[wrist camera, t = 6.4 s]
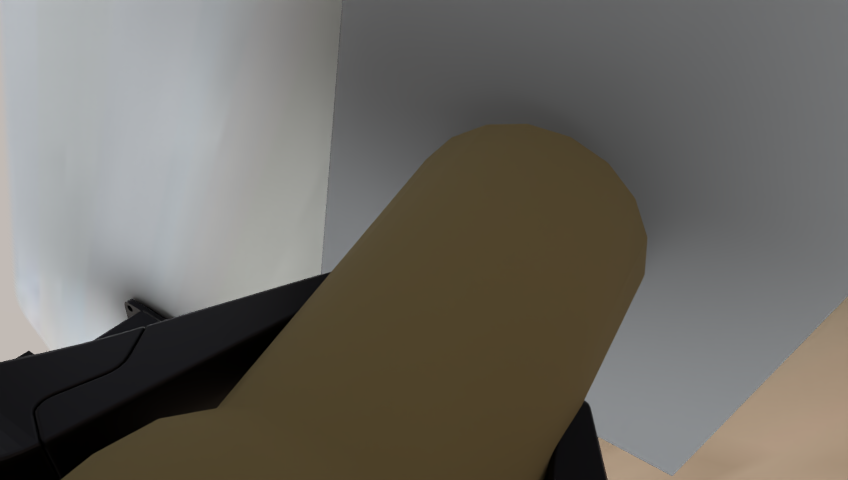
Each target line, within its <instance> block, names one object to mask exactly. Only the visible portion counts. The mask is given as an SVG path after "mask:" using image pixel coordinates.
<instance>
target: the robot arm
mask: <svg viewBox="0 0 848 480" xmlns="http://www.w3.org/2000/svg"><path fill="white" fill-rule="evenodd" d="M330 273H331V272H328V273H324V274H321V275H317V276H314V277H311V278H307V279H304V280H300V281H297V282H294V283H290V284H287V285H283V286H280V287H277V288H273V289H270V290H266V291H263V292H259V293H256V294H253V295H249V296H246V297H242V298H239V299H236V300H232V301H229V302H225V303H222V304H219V305H215V306H212V307H208V308H205V309H202V310H198V311H195V312H191V313H188V314H185V315H181V316H178V317H174V318H171V319H168V320H166V319H164V318H163V317H161V316H159V315H158V314H156V313H155V312H153V311H151V310H150V309H148V308H147V307H145V306H143V305H142V304H140V303H139V302H137V301H135V300H134V299H130V300H128V301H127V302H125V308H126V312H127V316H128V319H127V320H125V321H123V322H122V323H120V324H119V325H117V326H115V327H114V328H112V329H111V330H109V331H108V332H106V333H104V334H103V335H101V336H100V337H98V338H96V339H95V340H93V341H90V342H86V343H82V344H78V345H74V346H70V347H66V348H61V349H57V350H53V351H49V352H45V353H40V354H35V355H34V354H33V353H31V352H30V351H28V352H26V353H24V354H23V355H21V356H19V357H18V358H16V359H12V360H8V361H4V362H0V480H61V479H62V478H63V477H65V476H66V475H67V474H69V473H70V472H71V471H72V470H74V469H75V468H76V467H77V466H79V465H80V464H81V463H82V462H84V461H85V460H86V459H87V458H89V457H90V456H91V455H92V454H94V453H96V452H98V451H100V450H101V449H103V448H105V447H107V446H109V445H111V444H113V443H114V442H116V441H118V440H120V439H122V438H124V437H126V436H127V435H129V434H131V433H133V432H135V431H137V430H139V429H140V428H142V427H144V426H146V425H148V424H150V423H152V422H153V421H155V420H157V419H160V418H166V417H171V416H176V415H182V414H187V413H193V412H198V411H204V410H209V409H215V408H217V407H218V406H219V405H220V403H221V402H222V401H223V400H224V399H225V397H226V396H227V395H228V394H229V393H230V391H231V390H232V389H233V388H234V387H235V386H236V384H237V383H238V382H239V381H240V380H241V378H242V377H243V376H244V375H245V374H246V372H247V371H248V370H249V369H250V368H251V367H252V365H253V364H254V363H255V362H256V361H257V359H258V358H259V357H260V356H261V355H262V354H263V352H264V351H265V350H266V349H267V348H268V346H269V345H270V344H271V343H272V342H273V340H274V339H275V338H276V337H277V336H278V335H279V333H280V332H281V331H282V330H283V329H284V327H285V326H286V325H287V324H288V323H289V321H290V320H291V319H292V318H293V317H294V316H295V314H296V313H297V312H298V311H299V310H300V308H301V307H302V306H303V305H304V304H305V302H306V301H307V300H308V299H309V298H310V297H311V295H312V294H313V293H314V292H315V291H316V289H317V288H318V287H319V286H320V285H321V284H322V282H323V281H324V280H325V279H326V278H327V276H328V275H329V274H330ZM544 480H608V479H607V475H606V471H605V467H604V462H603V458H602V454H601V449H600V445H599V441H598V437H597V432H596V428H595V424H594V419H593V415H592V411H591V407H590V405H589V403H588V402H586V401H584V402H583V404H582V406H581V408H580V409H579V411H578V412H577V414H576V415H575V417H574V419H573V420H572V422H571V423H570V425H569V426H568V428H567V430H566V431H565V433H564V434H563V436H562V437H561V439H560V441H559V442H558V444H557V446H556V447H555V449H554V451H553V453H552V456H551V458H550V461H549V464H548V468H547V471H546V475H545V478H544Z"/></svg>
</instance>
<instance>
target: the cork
mask: <svg viewBox="0 0 848 480" xmlns="http://www.w3.org/2000/svg"><path fill="white" fill-rule="evenodd" d="M647 239H648V238H647V234H646V231H645V228H644V225H643V222H642V218H641V215H640V212H639V209H638V206H637V202H636V199H635V197H634V196H633V195H632V193H631V192H630V191H629V190H628V188H627V187H626V186H625V184H624V183H623V182H622V180H621V179H620V178H619V176H618V175H617V174H616V172H615V171H614V170H613V168H612V167H611V166H610V164H609V163H608V162H606V161H605V160H603V159H602V158H600V157H599V156H598V155H596V154H595V153H593V152H592V151H590V150H589V149H587V148H586V147H585V146H583V145H582V144H580V143H579V142H577V141H576V140H574V139H573V138H571V137H569V136H566V135H563V134H560V133H556V132H553V131H550V130H546V129H543V128H540V127H537V126H533V125H530V124H489V125H484V126H481V127H478V128H476V129H473V130H470V131H468V132H465V133H462V134H459V135H457V136H454V137H451V138H450V139H449V140H448V141H447V142H446V143H445V144H443V145H442V146H441V147H440V148H439V149H438V150H436V151H435V152H434V153H433V154H432V155H431V156H429V157H428V158H427V159H426V160H425V161H424V162H423V164H422V165H421V166H420V167H419V168H418V170H417V171H416V172H415V173H414V174H413V176H412V177H411V178H410V179H409V180H408V181H407V183H406V184H405V185H404V186H403V187H402V189H401V190H400V191H399V192H398V193H397V195H396V196H395V197H394V198H393V199H392V200H391V202H390V203H389V204H388V205H387V206H386V208H385V209H384V210H383V211H382V212H381V214H380V215H379V216H378V217H377V218H376V219H375V221H374V222H373V223H372V224H371V225H370V227H369V228H368V229H367V230H366V231H365V232H364V234H363V235H362V236H361V237H360V238H359V240H358V241H357V242H356V243H355V244H354V246H353V247H352V248H351V249H350V250H349V251H348V253H347V254H346V255H345V256H344V257H343V259H342V260H341V261H340V262H339V263H338V265H337V266H336V267H335V268H334V269H333V270H332V272H331V273H330V274H329V275H328V276H327V278H326V279H325V280H324V281H323V282H322V284H321V285H320V286H319V287H318V288H317V289H316V291H315V292H314V293H313V294H312V295H311V297H310V298H309V299H308V300H307V301H306V302H305V304H304V305H303V306H302V307H301V308H300V310H299V311H298V312H297V313H296V314H295V316H294V317H293V318H292V319H291V320H290V321H289V323H288V324H287V325H286V326H285V327H284V329H283V330H282V331H281V332H280V333H279V335H278V336H277V337H276V338H275V339H274V340H273V342H272V343H271V344H270V345H269V346H268V348H267V349H266V350H265V351H264V352H263V354H262V355H261V356H260V357H259V358H258V359H257V361H256V362H255V363H254V364H253V365H252V367H251V368H250V369H249V370H248V371H247V372H246V374H245V375H244V376H243V377H242V378H241V380H240V381H239V382H238V383H237V384H236V386H235V387H234V388H233V389H232V390H231V391H230V393H229V394H228V395H227V396H226V397H225V399H224V400H223V401H222V402H221V403H220V405H219V406H218V407H217V408H215V409H209V410H204V411H198V412H193V413H187V414H182V415H176V416H171V417H166V418H160V419H157V420H155V421H153V422H152V423H150V424H148V425H146V426H144V427H142V428H140V429H139V430H137V431H135V432H133V433H131V434H129V435H127V436H126V437H124V438H122V439H120V440H118V441H116V442H114V443H113V444H111V445H109V446H107V447H105V448H103V449H101V450H100V451H98V452H96V453H94V454H92V455H91V456H90V457H89V458H87V459H86V460H85V461H84V462H82V463H81V464H80V465H79V466H77V467H76V468H75V469H74V470H72V471H71V472H70V473H69V474H67V475H66V476H65V477H63V478H62V479H61V480H544V478H545V475H546V471H547V468H548V464H549V461H550V458H551V456H552V453H553V451H554V449H555V447H556V446H557V444H558V442H559V441H560V439H561V437H562V436H563V434H564V433H565V431H566V430H567V428H568V426H569V425H570V423H571V422H572V420H573V419H574V417H575V415H576V414H577V412H578V411H579V409H580V408H581V406H582V404H583V402H584V400H585V398H586V396H587V393H588V391H589V389H590V387H591V385H592V383H593V381H594V379H595V377H596V375H597V373H598V371H599V369H600V367H601V364H602V362H603V360H604V358H605V356H606V354H607V352H608V350H609V348H610V346H611V344H612V342H613V340H614V338H615V335H616V333H617V331H618V329H619V327H620V325H621V323H622V321H623V319H624V317H625V315H626V313H627V311H628V309H629V306H630V304H631V302H632V300H633V298H634V296H635V294H636V292H637V290H638V288H639V286H640V284H641V282H642V280H643V277H644V275H645V264H646V251H647Z"/></svg>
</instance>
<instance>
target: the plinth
mask: <svg viewBox="0 0 848 480" xmlns="http://www.w3.org/2000/svg"><path fill="white" fill-rule="evenodd" d="M489 124H530V125H533V126H537V127H540V128H543V129H546V130H550V131H553V132H556V133H560V134H563V135H566V136H569V137H571V138H573V139H574V140H576V141H577V142H579V143H580V144H582V145H583V146H585V147H586V148H587V149H589V150H590V151H592V152H593V153H595V154H596V155H598V156H599V157H600V158H602V159H603V160H605V161H606V162H608V163H609V164H610V166H611V167H612V168H613V170H614V171H615V172H616V174H617V175H618V176H619V178H620V179H621V180H622V182H623V183H624V184H625V186H626V187H627V188H628V190H629V191H630V192H631V193H632V195H633V196H634V197H635V199H636V202H637V206H638V209H639V212H640V215H641V218H642V222H643V225H644V228H645V231H646V234H647V238H648V239H647V251H646V264H645V275H644V277H643V280H642V282H641V284H640V286H639V288H638V290H637V292H636V294H635V296H634V298H633V300H632V302H631V304H630V306H629V309H628V311H627V313H626V315H625V317H624V319H623V321H622V323H621V325H620V327H619V329H618V331H617V333H616V335H615V338H614V340H613V342H612V344H611V346H610V348H609V350H608V352H607V354H606V356H605V358H604V360H603V362H602V364H601V367H600V369H599V371H598V373H597V375H596V377H595V379H594V381H593V383H592V385H591V387H590V389H589V391H588V393H587V396H586V398H585V400H584V401H586V402H588V403H589V405H590V407H591V411H592V415H593V419H594V424H595V428H596V432H597V436H598V437H600V438H602V439H604V440H605V441H607V442H609V443H611V444H613V445H615V446H617V447H619V448H620V449H622V450H624V451H626V452H628V453H630V454H632V455H634V456H635V457H637V458H639V459H641V460H643V461H645V462H647V463H649V464H650V465H652V466H654V467H656V468H658V469H660V470H662V471H663V472H665V473H667V474H669V475H671V476H673V475H674V474H675V473H676V472H677V471H678V470H679V469H680V468H681V467H682V466H683V464H684V463H685V462H686V461H687V460H688V459H689V458H690V457H691V456H692V455H693V454H694V453H695V452H696V451H697V450H698V449H699V448H700V447H701V446H702V445H703V444H704V443H705V442H706V441H707V440H708V439H709V438H710V437H711V436H712V435H713V434H714V433H715V432H716V431H717V430H718V429H719V428H720V427H721V426H722V425H723V423H724V422H725V421H726V420H727V419H728V418H729V417H730V416H731V415H732V414H733V413H734V412H735V411H736V410H737V409H738V408H739V407H740V406H741V405H742V404H743V403H744V402H745V401H746V400H747V399H748V398H749V397H750V396H751V395H752V394H753V393H754V392H755V391H756V390H757V389H758V388H759V387H760V386H761V385H762V383H763V382H764V381H765V380H766V379H767V378H768V377H769V376H770V375H771V374H772V373H773V372H774V371H775V370H776V369H777V368H778V367H779V366H780V365H781V364H782V363H783V362H784V361H785V360H786V359H787V358H788V357H789V356H790V355H791V354H792V353H793V352H794V351H795V350H796V349H797V348H798V347H799V346H800V345H801V344H802V342H803V341H804V340H805V339H806V338H807V337H808V336H809V335H810V334H811V333H812V332H813V331H814V330H815V329H816V328H817V327H818V326H819V325H820V324H821V323H822V322H823V321H824V320H825V319H826V318H827V317H828V316H829V315H830V314H831V313H832V312H833V311H834V310H835V309H836V308H837V307H838V306H839V305H840V304H841V302H842V301H843V300H844V299H845V298H846V297H847V296H848V0H343V1H342V13H341V26H340V39H339V51H338V64H337V77H336V89H335V102H334V115H333V127H332V140H331V153H330V166H329V178H328V191H327V204H326V216H325V229H324V242H323V254H322V267H321V274H324V273H328V272H332V270H333V269H334V268H335V267H336V266H337V265H338V263H339V262H340V261H341V260H342V259H343V257H344V256H345V255H346V254H347V253H348V251H349V250H350V249H351V248H352V247H353V246H354V244H355V243H356V242H357V241H358V240H359V238H360V237H361V236H362V235H363V234H364V232H365V231H366V230H367V229H368V228H369V227H370V225H371V224H372V223H373V222H374V221H375V219H376V218H377V217H378V216H379V215H380V214H381V212H382V211H383V210H384V209H385V208H386V206H387V205H388V204H389V203H390V202H391V200H392V199H393V198H394V197H395V196H396V195H397V193H398V192H399V191H400V190H401V189H402V187H403V186H404V185H405V184H406V183H407V181H408V180H409V179H410V178H411V177H412V176H413V174H414V173H415V172H416V171H417V170H418V168H419V167H420V166H421V165H422V164H423V162H424V161H425V160H426V159H427V158H428V157H429V156H431V155H432V154H433V153H434V152H435V151H436V150H438V149H439V148H440V147H441V146H442V145H443V144H445V143H446V142H447V141H448V140H449V139H450V138H451V137H454V136H457V135H459V134H462V133H465V132H468V131H470V130H473V129H476V128H478V127H481V126H484V125H489Z"/></svg>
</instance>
